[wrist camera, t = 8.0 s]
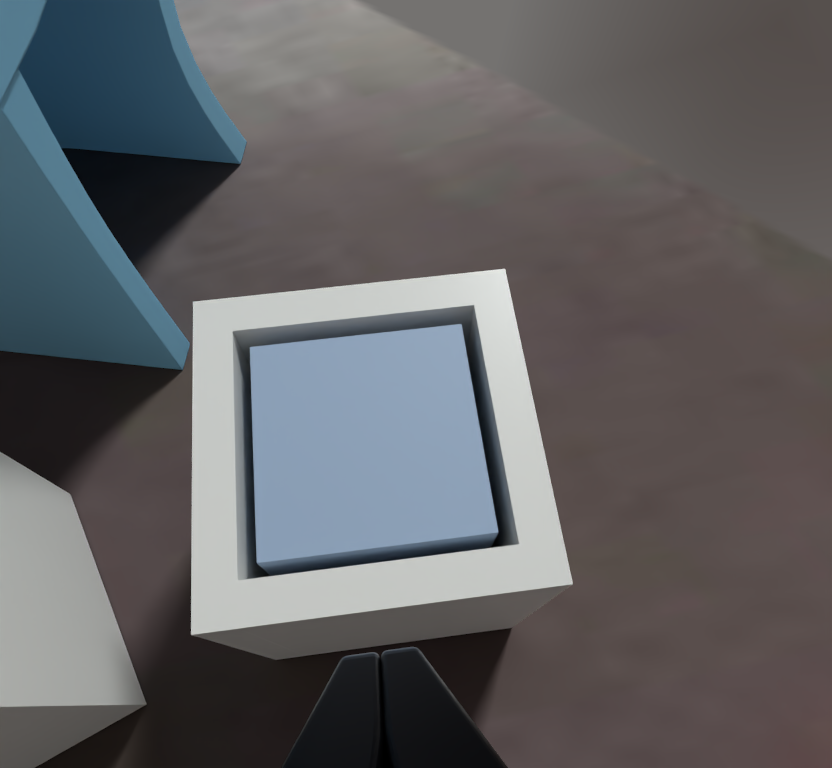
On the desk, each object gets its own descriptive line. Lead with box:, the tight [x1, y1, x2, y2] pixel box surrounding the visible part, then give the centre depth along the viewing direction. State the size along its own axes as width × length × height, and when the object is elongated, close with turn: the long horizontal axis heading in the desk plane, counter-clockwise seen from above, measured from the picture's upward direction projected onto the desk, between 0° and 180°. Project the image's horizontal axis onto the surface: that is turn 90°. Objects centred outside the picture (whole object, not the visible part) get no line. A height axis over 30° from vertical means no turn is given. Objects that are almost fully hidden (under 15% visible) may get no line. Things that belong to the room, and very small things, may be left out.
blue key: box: [250, 324, 498, 576], centre depth 17 cm, size 4×4×7 cm
